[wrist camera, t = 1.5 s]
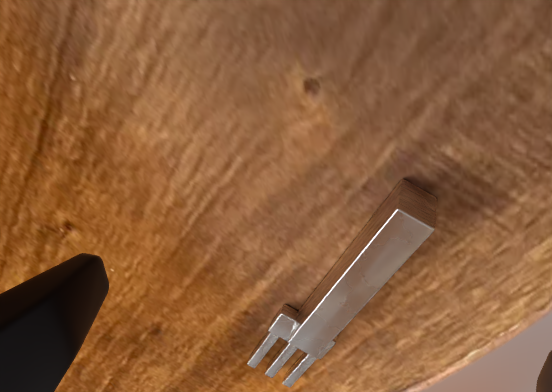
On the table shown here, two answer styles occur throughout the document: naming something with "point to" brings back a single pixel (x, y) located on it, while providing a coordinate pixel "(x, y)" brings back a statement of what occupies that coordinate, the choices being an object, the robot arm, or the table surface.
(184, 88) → the table surface
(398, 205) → the fork
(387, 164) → the table surface
